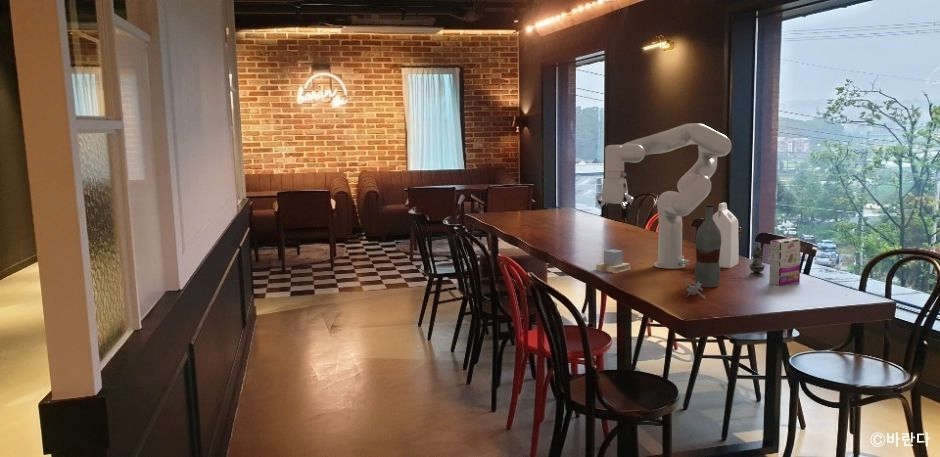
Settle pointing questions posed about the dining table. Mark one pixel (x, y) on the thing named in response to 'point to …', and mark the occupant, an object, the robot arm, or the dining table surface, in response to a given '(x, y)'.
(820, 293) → the dining table surface
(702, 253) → the bottle
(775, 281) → the candy bar box
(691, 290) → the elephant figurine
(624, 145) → the robot arm
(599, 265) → the beech block
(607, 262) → the slate cube
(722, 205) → the milk
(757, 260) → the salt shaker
